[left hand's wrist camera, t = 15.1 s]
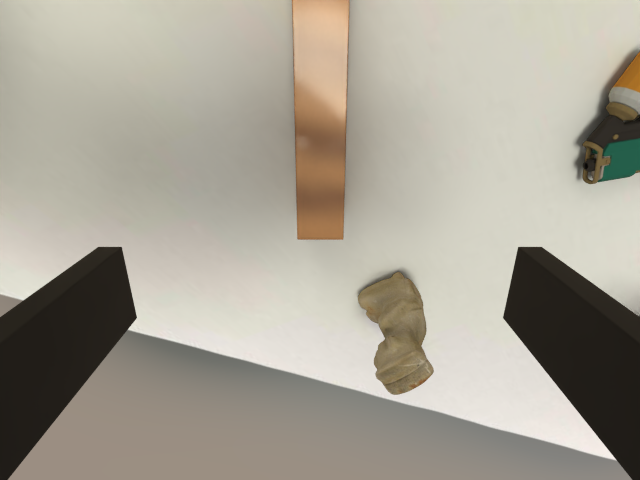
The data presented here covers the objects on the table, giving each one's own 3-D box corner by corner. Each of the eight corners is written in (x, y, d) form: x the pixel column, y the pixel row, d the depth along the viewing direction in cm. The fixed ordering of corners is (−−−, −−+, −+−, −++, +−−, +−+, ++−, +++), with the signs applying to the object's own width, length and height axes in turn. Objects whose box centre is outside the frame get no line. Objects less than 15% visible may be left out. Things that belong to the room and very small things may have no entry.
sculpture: (350, 286, 48) (363, 367, 34) (400, 259, 46) (435, 332, 33) (372, 319, 50) (392, 409, 36) (421, 294, 48) (462, 378, 34)
